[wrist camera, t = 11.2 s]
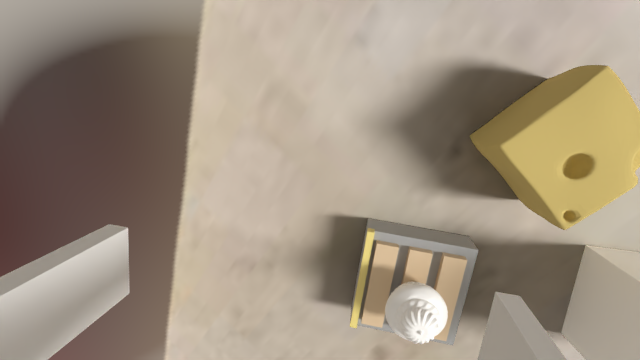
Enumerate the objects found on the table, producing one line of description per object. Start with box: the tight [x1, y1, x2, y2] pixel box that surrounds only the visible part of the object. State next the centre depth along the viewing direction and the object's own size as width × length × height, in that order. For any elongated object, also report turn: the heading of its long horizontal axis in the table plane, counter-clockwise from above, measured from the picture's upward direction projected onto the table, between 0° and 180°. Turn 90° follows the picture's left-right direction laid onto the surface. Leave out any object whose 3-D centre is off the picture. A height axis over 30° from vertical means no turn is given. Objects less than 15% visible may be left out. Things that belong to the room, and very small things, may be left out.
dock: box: [350, 218, 478, 345], centre depth 42 cm, size 12×12×5 cm
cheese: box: [470, 65, 640, 230], centre depth 34 cm, size 10×11×10 cm
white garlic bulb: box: [385, 281, 448, 344], centre depth 36 cm, size 6×6×7 cm
